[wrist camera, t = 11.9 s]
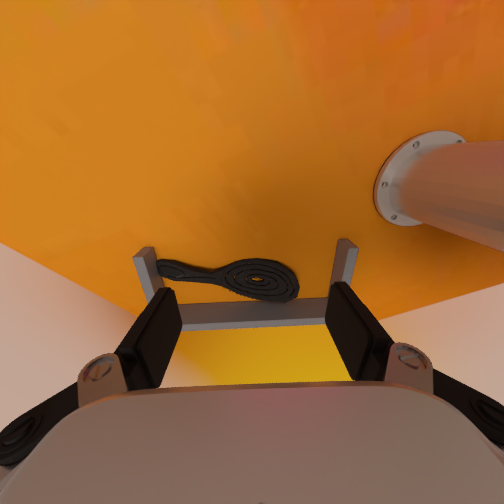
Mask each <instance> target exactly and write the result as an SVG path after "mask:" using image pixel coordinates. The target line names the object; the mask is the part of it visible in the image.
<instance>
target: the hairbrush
mask: <svg viewBox="0 0 504 504" xmlns="http://www.w3.org/2000/svg"><path fill="white" fill-rule="evenodd" d="M249 263H250V264H249ZM156 265H157V269H158V273H159V275H160V276H162V277H165V278H168V279H170V280H173V281H186V282H199V283H210V284H215V285H219V286H223V287H225V288H227V289H229V291H230V292H231V291H233V292H235V293H236V294H240V296H241V295H243V296H244V297H245V296H247V297H248V298H249V297H250V298H252V299H253V298H254V299H257V300H261V301H262V300H264V301H269V302H283V303H286V302H288V301H290V300H292V299H294V298H296V297H297V296H298V292H299V288H300V286H299V283H298V280H297V278H296V276H295V275H294V273H293V272H292V271H290V270H289V269H287V268H286V267H285V266H283V265H282V264H280V263H279V262H277V261H272V260H267V259H259V258H254V259H243V260H239V261H238V262H237V261H235V263H234V262H233V264H232V263H231V264H229V265H227V266H225V267H223V268H220V269H218V270H216V271H213V272H210V271H205V270H200V269H194V268H191V267H188V266H186V265H183V264H181V263H178V262H176V261H171V260H165V259H160V260H157V261H156ZM159 266H160V267H159ZM228 271H229V272H228ZM227 272H228V273H227ZM226 274H227V276H226ZM235 275H236V276H235ZM234 276H235V279H234ZM246 276H247V277H246ZM245 277H246V279H245ZM255 277H257V278H259V279H263V280H262V281H261V280H260V281H255V280H251V279H252V278H255ZM257 278H256V279H257ZM289 278H290V279H289ZM246 280H247V281H246ZM269 280H270V281H269ZM290 280H291V281H292V282H291V281H290ZM277 282H278V283H277ZM286 282H287V284H288V288H287V284H286ZM292 283H293V286H294V289H293V286H292ZM292 302H293V301H292Z"/></svg>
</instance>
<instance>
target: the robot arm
mask: <svg viewBox="0 0 504 504" xmlns="http://www.w3.org/2000/svg"><path fill="white" fill-rule="evenodd" d="M374 203H375V206H376V209H377V211H378V212H379V214H380V215H381V216H382V217H383V218H384V219H385V220H387V221H388V222H390V223H393V224H395V225H399V226H415V225H419V224H422V223H425V224H428V225H430V226H433V227H436V228H438V229H441V230H444V231H447V232H449V233H452V234H455V235H458V236H460V237H463V238H466V239H468V240H471V241H474V242H477V243H479V244H482V245H485V246H487V247H490V248H493V249H496V250H498V251H501V252H504V140H496V141H481V142H466V141H465V139H464V138H463V137H461V136H460V135H459V134H457V133H454V132H451V131H443V130H440V131H431V132H427V133H423V134H420V135H418V136H416V137H413V138H411V139H410V140H408V141H407V142H405V143H404V144H402V145H401V146H400V147H399V148H398V149H396V150H395V151H394V152H393V153H392V155H391V156H390V157H389V158H388V159H387V161H386V162H385V164H384V165H383V167H382V168H381V170H380V173H379V175H378V177H377V180H376V183H375V188H374ZM325 323H326V326H327V328H328V330H329V332H330V334H331V336H332V338H333V341H334V343H335V345H336V347H337V349H338V351H339V353H340V355H341V358H342V360H343V362H344V364H345V366H346V368H347V371H348V373H349V375H350V377H351V379H352V380H355V381H325V382H296V383H295V382H294V383H269V384H268V383H267V384H241V385H240V384H239V385H216V386H193V387H172V388H158V387H159V386H160V385H161V382H162V379H163V377H164V374H165V371H166V369H167V366H168V364H169V361H170V358H171V356H172V353H173V351H174V348H175V346H176V343H177V340H178V338H179V335H180V333H181V330H182V325H183V324H182V319H181V315H180V311H179V308H178V304H177V300H176V296H175V292H174V290H171V288H170V287H164V288H159V289H158V290H157V292H156V293H155V295H154V296H153V298H152V299H151V300H150V302H149V303H148V305H147V306H146V308H145V309H144V311H143V312H142V313H141V314H140V315H139V317H138V318H137V320H136V321H135V323H134V324H133V326H132V327H131V328H130V330H129V331H128V333H127V334H126V336H125V337H124V339H123V340H122V342H121V343H120V345H119V346H118V348H117V349H116V351H115V352H114V353H107V354H103V355H101V356H98V357H96V358H95V359H93V360H92V361H90V362H89V363H88V364H86V365H85V367H84V368H83V369H82V370H81V372H80V373H79V375H78V380H77V382H76V383H74V384H72V385H70V386H69V387H67V388H66V389H64V390H62V391H61V392H59V393H57V394H56V395H54V396H52V397H51V398H49V399H47V400H46V401H44V402H43V403H41V404H39V405H37V406H36V407H34V408H32V409H31V410H29V411H27V412H26V413H24V414H23V415H21V416H19V417H18V418H16V419H15V420H14V421H12V422H11V423H10V424H9V425H8V426H6V427H5V428H4V429H3V430H2V431H1V432H0V504H504V406H503V405H501V404H500V403H499V402H497V401H495V400H494V399H492V398H490V397H488V396H486V395H484V394H482V393H480V392H478V391H477V390H475V389H473V388H471V387H469V386H467V385H465V384H463V383H461V382H459V381H457V380H455V379H453V378H451V377H449V376H447V375H445V374H443V373H441V372H439V371H437V370H435V369H433V367H432V363H431V361H430V359H429V358H428V357H427V356H426V355H425V354H424V353H423V352H422V351H420V350H419V349H418V348H416V347H414V346H412V345H409V344H406V343H400V342H399V343H395V342H394V341H393V340H392V338H391V337H390V336H389V335H388V334H387V332H386V331H385V330H384V328H383V327H382V326H381V325H380V323H379V322H378V321H377V320H376V318H375V317H374V316H373V314H372V313H371V312H370V311H369V309H368V308H367V307H366V306H365V305H364V304H363V303H362V302H361V300H360V299H359V298H358V297H357V295H356V294H355V293H354V291H353V290H352V289H351V288H350V286H349V285H348V284H347V283H346V282H345V281H337V282H334V284H331V287H330V292H329V298H328V303H327V308H326V313H325Z"/></svg>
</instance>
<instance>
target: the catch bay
mask: <svg viewBox="0 0 504 504" xmlns="http://www.w3.org/2000/svg"><path fill="white" fill-rule="evenodd" d="M358 250H359V248H358V247H357V246H356V245H354V244H353V243H352V242H351V241H349V240H348V239H338V244H337V250H336V255H335V260H334V266H333V271H332V277H331V282H330V287H331V284H334V282H337V281H345V282H346V283H347V284H348V285H349V286H350V283H351V279H352V275H353V271H354V266H355V262H356V258H357V254H358ZM132 258H133V261H134V264H135V267H136V270H137V273H138V276H139V278H140V281H141V284H142V287H143V290H144V293H145V296H146V299H147V302H148V303H149V302H150V300H151V299H152V298H153V296H154V295H155V293H156V292H157V290H158V289H159V288H164V284H163V280H162V276H160V275H159V273H158V269H157V265H156V261H157V259H156V255H155V252H154V248H153V247H144V248H142V249H141V250H140V251H139V252H138V253H137V254H136V255H135V256H133V257H132ZM330 287H329V292H330ZM328 298H329V293H328V297H327V298H306V299H292V300H290V301H288V302H286V303H283V302H269V301H264V300H263V301H242V302H221V303H199V304H178V308H179V311H180V315H181V319H182V324H183V325H182V330H181V331H197V330H217V329H237V328H258V327H277V326H296V325H317V324H326V323H325V313H326V308H327V303H328ZM292 301H293V302H292Z"/></svg>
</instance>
